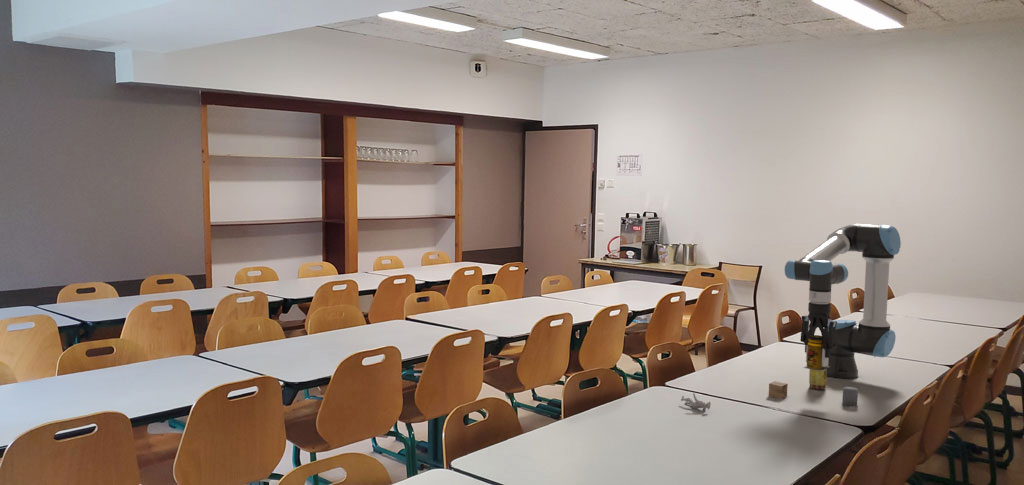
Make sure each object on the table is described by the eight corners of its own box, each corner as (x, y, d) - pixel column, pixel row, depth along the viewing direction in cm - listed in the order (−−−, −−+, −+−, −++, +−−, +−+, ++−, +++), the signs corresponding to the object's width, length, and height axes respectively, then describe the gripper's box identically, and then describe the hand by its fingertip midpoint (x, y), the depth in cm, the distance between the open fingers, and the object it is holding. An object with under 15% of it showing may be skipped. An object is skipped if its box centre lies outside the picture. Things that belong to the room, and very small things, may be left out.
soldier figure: (692, 405, 270) (718, 402, 261) (688, 416, 267) (715, 414, 258) (679, 392, 268) (705, 389, 258) (675, 403, 265) (702, 401, 256)
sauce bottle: (827, 390, 287) (829, 341, 285) (810, 389, 288) (812, 340, 286) (823, 386, 293) (826, 337, 292) (807, 385, 294) (809, 336, 293)
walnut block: (774, 393, 283) (774, 381, 282) (787, 396, 279) (787, 383, 279) (768, 396, 279) (769, 383, 279) (781, 399, 276) (781, 386, 275)
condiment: (802, 368, 270) (804, 336, 269) (810, 363, 276) (811, 332, 275) (823, 371, 265) (824, 339, 264) (830, 367, 272) (831, 335, 271)
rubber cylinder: (847, 401, 273) (848, 386, 272) (860, 405, 268) (860, 389, 268) (839, 403, 270) (840, 387, 270) (851, 407, 266) (852, 391, 265)
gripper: (791, 299, 275) (788, 359, 277) (835, 307, 259) (833, 371, 261) (804, 297, 279) (802, 357, 281) (849, 305, 262) (846, 368, 264)
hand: (816, 363), depth 271 cm, fingers closed on condiment, 6 cm apart
